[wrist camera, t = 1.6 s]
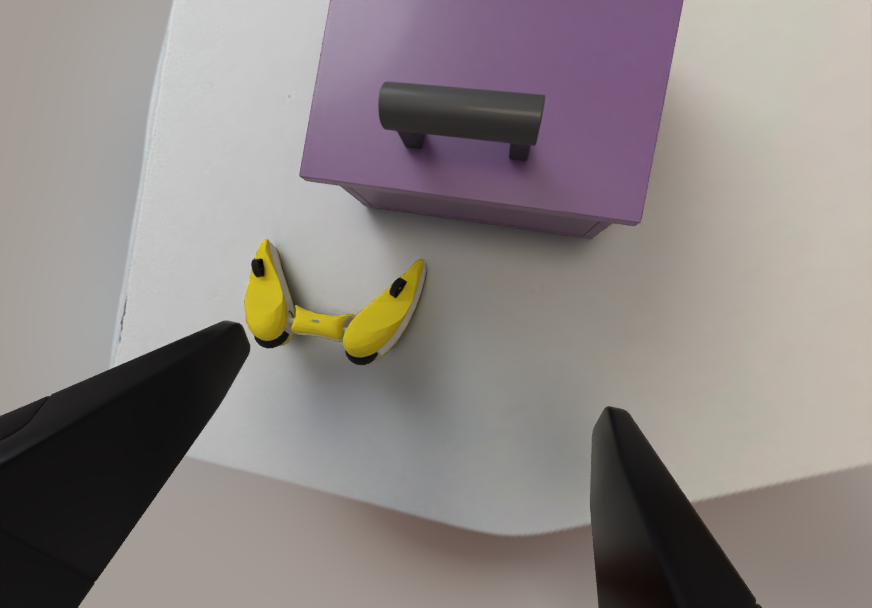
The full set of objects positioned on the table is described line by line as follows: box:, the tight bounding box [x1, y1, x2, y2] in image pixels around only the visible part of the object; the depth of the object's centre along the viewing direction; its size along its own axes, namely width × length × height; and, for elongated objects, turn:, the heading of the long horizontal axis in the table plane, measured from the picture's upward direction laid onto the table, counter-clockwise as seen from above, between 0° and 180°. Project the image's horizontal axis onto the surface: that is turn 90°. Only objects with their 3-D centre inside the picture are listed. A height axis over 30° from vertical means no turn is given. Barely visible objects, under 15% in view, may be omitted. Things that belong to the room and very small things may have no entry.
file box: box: [341, 186, 612, 239], centre depth 18 cm, size 11×13×7 cm
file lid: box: [299, 0, 683, 226], centre depth 13 cm, size 12×13×4 cm
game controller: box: [244, 239, 426, 365], centre depth 21 cm, size 10×6×4 cm, turn 82°
